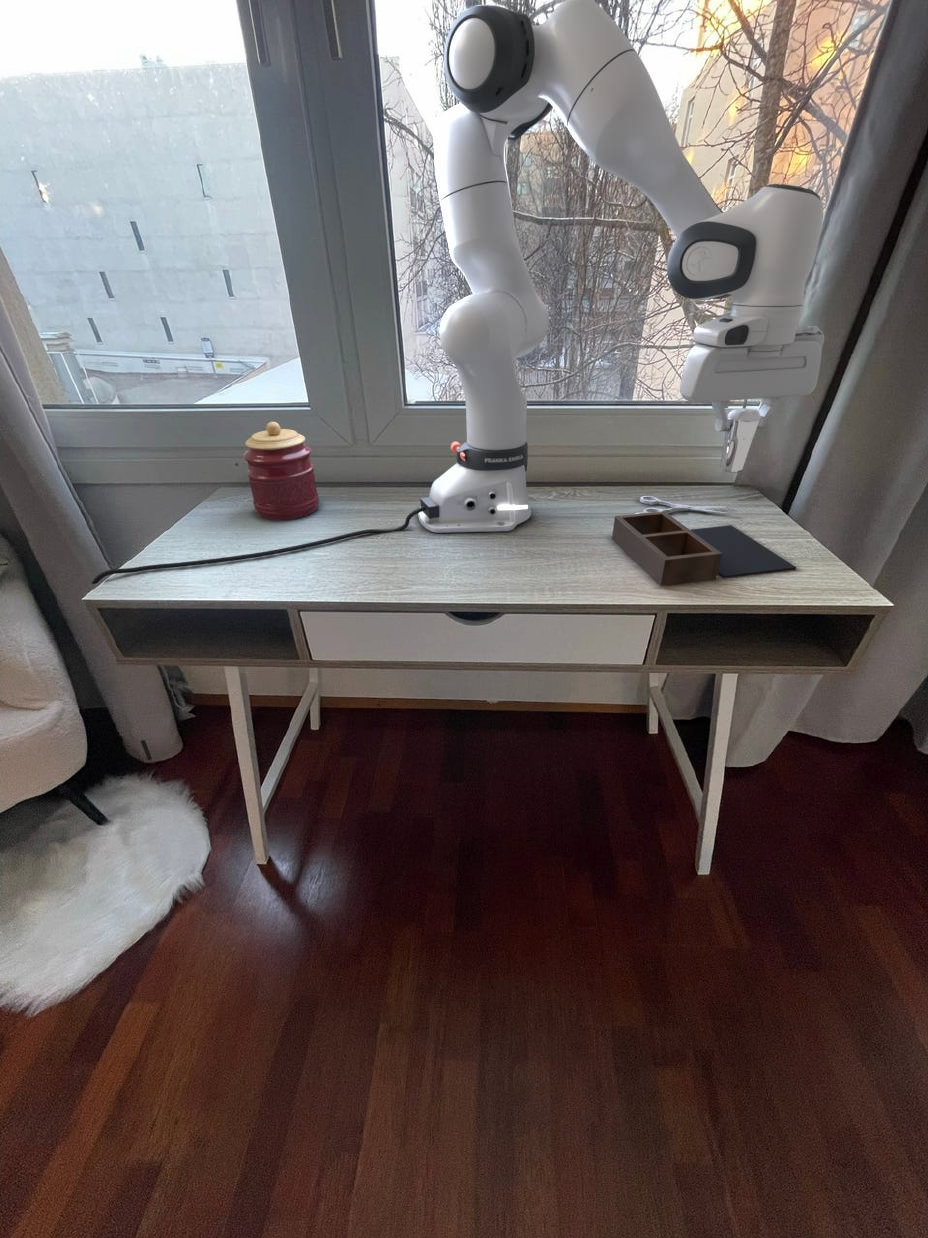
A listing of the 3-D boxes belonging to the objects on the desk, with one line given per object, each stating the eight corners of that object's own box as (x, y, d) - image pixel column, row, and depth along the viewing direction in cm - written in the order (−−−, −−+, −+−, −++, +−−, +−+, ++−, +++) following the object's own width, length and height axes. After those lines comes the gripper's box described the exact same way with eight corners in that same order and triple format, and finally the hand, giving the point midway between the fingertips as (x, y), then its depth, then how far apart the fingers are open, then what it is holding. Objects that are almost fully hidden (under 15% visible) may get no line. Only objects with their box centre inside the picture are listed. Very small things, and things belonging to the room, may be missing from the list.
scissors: (632, 495, 123) (734, 499, 120) (632, 498, 124) (733, 503, 120) (634, 513, 115) (744, 519, 111) (634, 517, 115) (743, 523, 111)
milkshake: (745, 465, 94) (762, 400, 89) (746, 475, 90) (765, 406, 84) (714, 462, 95) (730, 397, 90) (715, 472, 91) (731, 404, 86)
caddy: (660, 586, 91) (665, 560, 89) (611, 539, 107) (614, 516, 104) (716, 579, 93) (722, 553, 91) (660, 534, 108) (664, 511, 106)
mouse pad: (723, 578, 93) (723, 576, 93) (666, 533, 108) (667, 531, 108) (795, 569, 95) (796, 567, 95) (730, 527, 110) (731, 525, 110)
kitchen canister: (311, 521, 117) (296, 430, 107) (246, 521, 117) (226, 430, 108) (326, 498, 128) (313, 413, 118) (266, 498, 128) (249, 414, 119)
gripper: (811, 323, 86) (786, 420, 94) (683, 328, 83) (667, 428, 90) (843, 327, 81) (814, 429, 88) (708, 333, 78) (689, 439, 85)
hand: (739, 429), depth 89 cm, fingers closed on milkshake, 4 cm apart
